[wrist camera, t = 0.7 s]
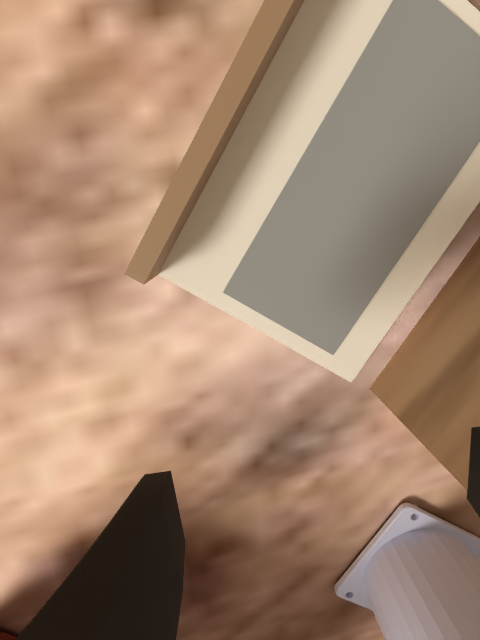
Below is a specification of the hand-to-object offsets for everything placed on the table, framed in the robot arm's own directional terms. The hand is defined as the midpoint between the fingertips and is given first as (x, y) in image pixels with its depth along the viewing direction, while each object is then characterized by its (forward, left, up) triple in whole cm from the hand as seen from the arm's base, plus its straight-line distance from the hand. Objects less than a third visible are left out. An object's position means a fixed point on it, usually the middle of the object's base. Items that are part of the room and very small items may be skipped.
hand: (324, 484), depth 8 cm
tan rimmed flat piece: (+1, -9, -10) cm, 13 cm away
